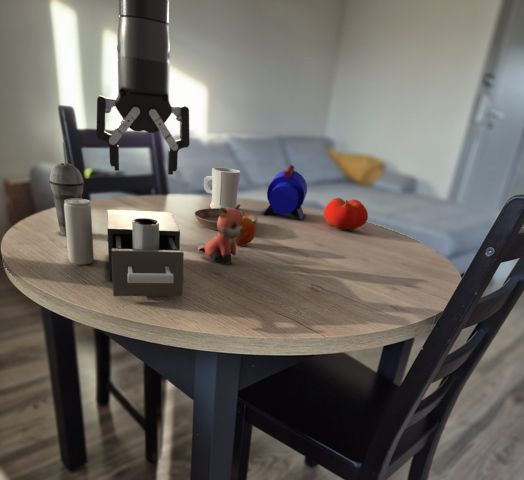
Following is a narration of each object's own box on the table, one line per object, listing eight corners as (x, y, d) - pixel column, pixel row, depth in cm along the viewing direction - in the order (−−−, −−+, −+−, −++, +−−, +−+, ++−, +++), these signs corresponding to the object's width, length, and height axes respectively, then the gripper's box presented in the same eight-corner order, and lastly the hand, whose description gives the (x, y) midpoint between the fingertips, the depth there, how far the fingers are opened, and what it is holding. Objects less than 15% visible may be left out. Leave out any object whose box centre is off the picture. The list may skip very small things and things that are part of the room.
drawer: (186, 309, 80) (188, 263, 76) (113, 310, 76) (111, 262, 73) (173, 270, 96) (174, 230, 92) (112, 269, 92) (111, 228, 89)
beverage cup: (86, 229, 118) (80, 141, 108) (88, 237, 112) (82, 145, 102) (54, 229, 115) (45, 138, 106) (54, 237, 109) (44, 142, 100)
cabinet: (178, 281, 93) (180, 231, 89) (109, 281, 89) (107, 228, 85) (170, 257, 106) (171, 212, 101) (109, 256, 102) (107, 209, 97)
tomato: (313, 227, 145) (318, 197, 141) (327, 221, 156) (332, 193, 152) (356, 237, 140) (363, 206, 136) (368, 230, 151) (374, 201, 147)
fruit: (243, 250, 116) (246, 217, 113) (220, 243, 119) (222, 210, 116) (259, 245, 122) (262, 213, 118) (237, 238, 125) (239, 207, 121)
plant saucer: (183, 226, 130) (184, 215, 128) (207, 214, 145) (208, 204, 144) (245, 238, 126) (246, 226, 125) (263, 224, 142) (264, 214, 140)
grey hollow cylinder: (131, 274, 88) (130, 217, 83) (156, 273, 90) (157, 218, 85) (134, 283, 84) (133, 224, 80) (160, 282, 86) (161, 225, 81)
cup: (209, 212, 149) (211, 171, 143) (201, 205, 156) (203, 166, 150) (241, 212, 152) (244, 173, 147) (232, 206, 160) (235, 168, 154)
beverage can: (66, 264, 95) (61, 202, 89) (71, 257, 99) (66, 197, 93) (92, 266, 95) (88, 204, 90) (95, 258, 100) (92, 199, 94)
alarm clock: (304, 214, 161) (311, 167, 154) (299, 221, 150) (307, 171, 143) (268, 208, 163) (274, 161, 156) (261, 215, 152) (267, 165, 145)
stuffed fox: (204, 248, 114) (207, 196, 108) (246, 259, 110) (251, 206, 105) (187, 255, 108) (189, 201, 102) (231, 267, 104) (235, 211, 99)
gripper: (188, 65, 77) (184, 171, 84) (94, 51, 72) (98, 164, 80) (195, 64, 70) (190, 179, 78) (92, 48, 66) (97, 172, 74)
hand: (143, 171), depth 79 cm, fingers open, 8 cm apart
